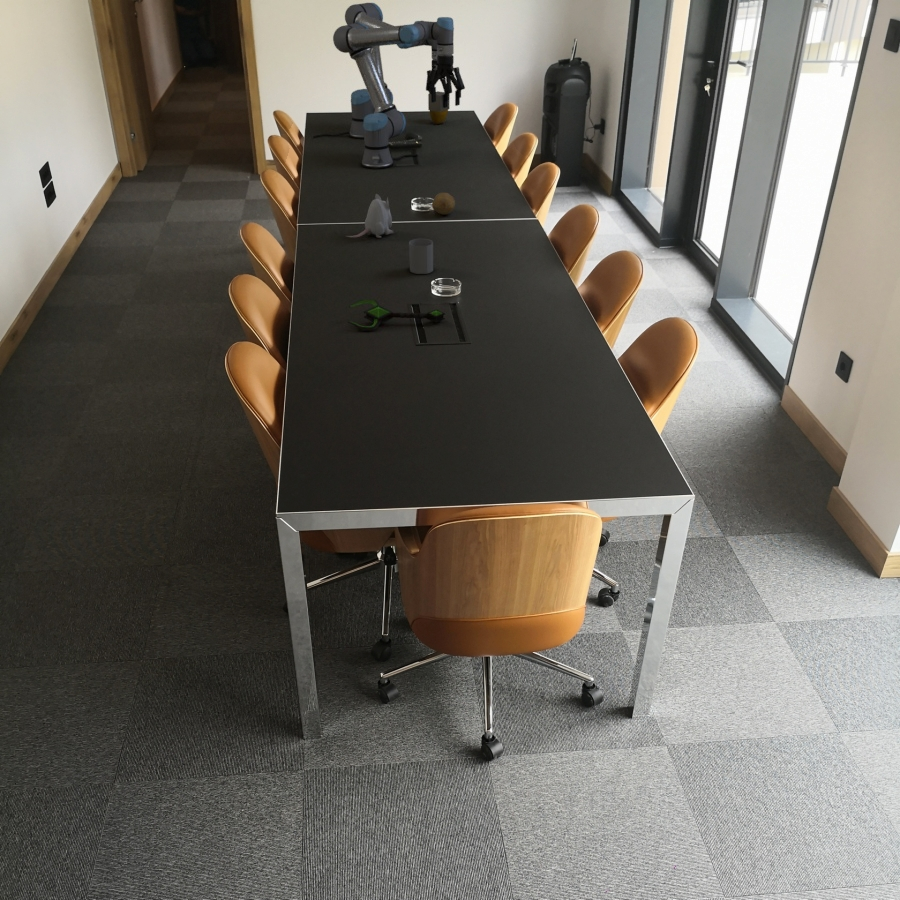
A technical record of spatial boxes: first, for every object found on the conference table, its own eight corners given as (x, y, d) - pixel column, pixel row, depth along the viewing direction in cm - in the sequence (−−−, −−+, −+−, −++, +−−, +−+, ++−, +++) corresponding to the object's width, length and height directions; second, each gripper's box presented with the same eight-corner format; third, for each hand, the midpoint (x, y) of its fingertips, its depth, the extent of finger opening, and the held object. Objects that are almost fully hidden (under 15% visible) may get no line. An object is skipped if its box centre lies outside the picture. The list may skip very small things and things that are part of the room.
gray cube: (437, 107, 463) (437, 91, 458) (449, 109, 459) (449, 92, 455) (428, 110, 457) (428, 93, 452) (440, 112, 453) (440, 95, 449)
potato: (453, 208, 369) (453, 189, 365) (456, 218, 357) (456, 199, 353) (431, 208, 368) (430, 189, 364) (432, 218, 356) (432, 199, 352)
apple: (448, 125, 501) (448, 101, 494) (429, 125, 501) (429, 101, 494) (448, 121, 510) (448, 98, 504) (430, 121, 511) (429, 97, 504)
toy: (399, 233, 341) (398, 195, 333) (354, 248, 327) (351, 208, 319) (383, 228, 346) (382, 190, 338) (338, 242, 332) (335, 203, 324)
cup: (409, 265, 311) (408, 238, 306) (432, 265, 312) (431, 238, 307) (410, 274, 304) (409, 246, 299) (433, 273, 305) (433, 246, 299)
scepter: (445, 294, 271) (348, 292, 269) (446, 325, 264) (347, 323, 262) (443, 307, 276) (349, 305, 274) (445, 338, 269) (347, 336, 267)
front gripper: (418, 53, 402) (419, 101, 414) (463, 58, 390) (463, 108, 402) (427, 51, 407) (428, 99, 419) (472, 56, 396) (471, 105, 407)
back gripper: (418, 58, 447) (418, 105, 459) (451, 62, 437) (451, 110, 450) (426, 56, 452) (427, 102, 465) (459, 60, 443) (459, 107, 455)
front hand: (445, 103), depth 410 cm, fingers open, 13 cm apart
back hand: (438, 106), depth 457 cm, fingers closed on gray cube, 8 cm apart
